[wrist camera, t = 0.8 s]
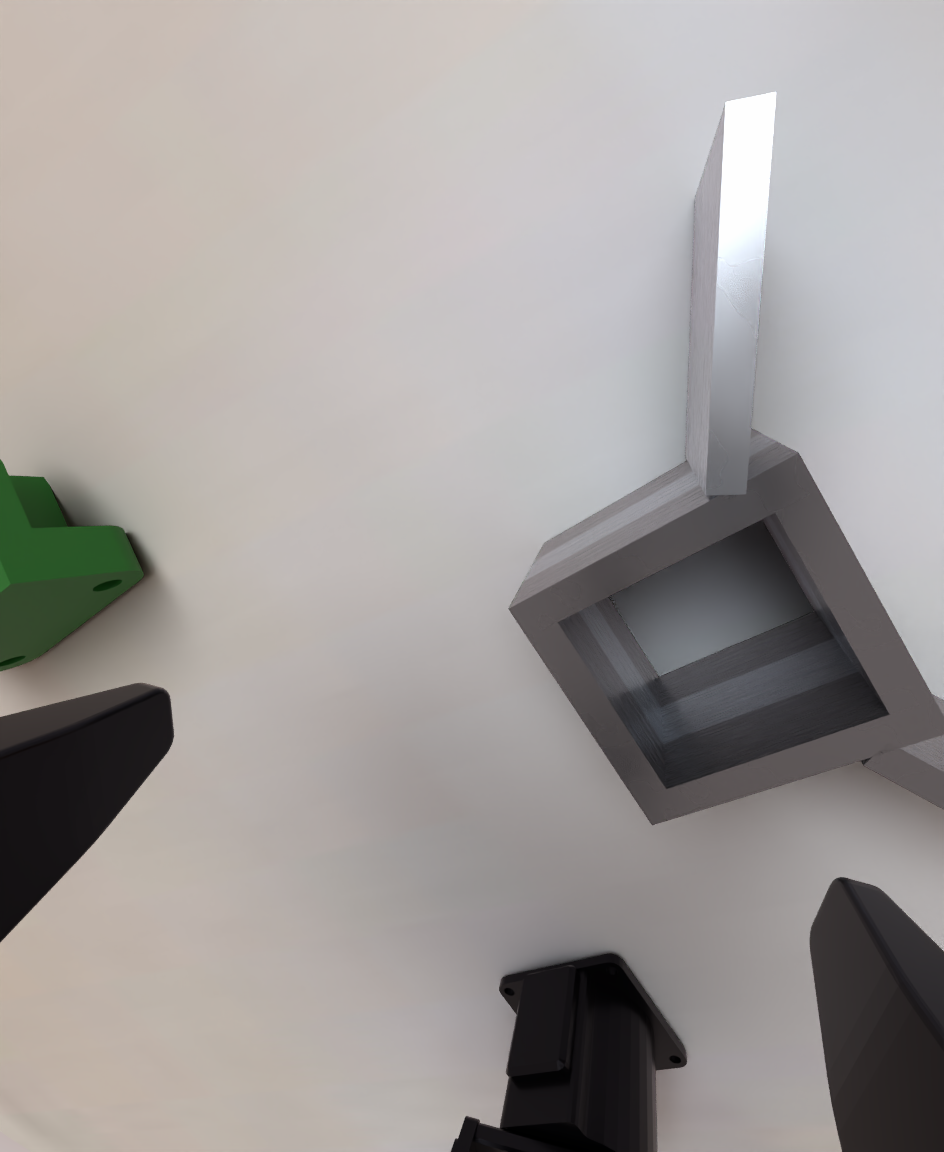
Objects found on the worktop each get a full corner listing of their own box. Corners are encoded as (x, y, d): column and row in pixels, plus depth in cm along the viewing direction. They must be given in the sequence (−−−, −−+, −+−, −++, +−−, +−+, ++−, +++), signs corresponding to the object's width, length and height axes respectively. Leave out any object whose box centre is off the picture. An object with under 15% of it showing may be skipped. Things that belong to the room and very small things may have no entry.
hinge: (1025, 750, 18) (1194, 918, 12) (731, 834, 22) (762, 990, 16) (719, 177, 15) (765, 69, 10) (445, 388, 19) (367, 396, 14)
